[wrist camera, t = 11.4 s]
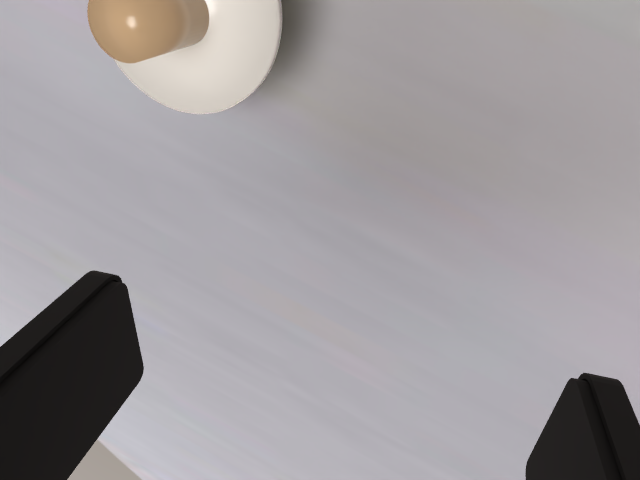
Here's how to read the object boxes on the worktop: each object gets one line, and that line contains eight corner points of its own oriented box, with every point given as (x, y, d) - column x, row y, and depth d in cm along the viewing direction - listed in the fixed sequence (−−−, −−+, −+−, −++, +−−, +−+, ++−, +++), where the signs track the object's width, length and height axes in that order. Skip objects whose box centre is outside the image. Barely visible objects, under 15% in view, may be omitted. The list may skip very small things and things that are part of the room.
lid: (282, -108, 24) (229, -131, 18) (282, 119, 30) (242, 156, 24) (81, -113, 26) (-26, -136, 20) (120, 100, 32) (47, 129, 26)
